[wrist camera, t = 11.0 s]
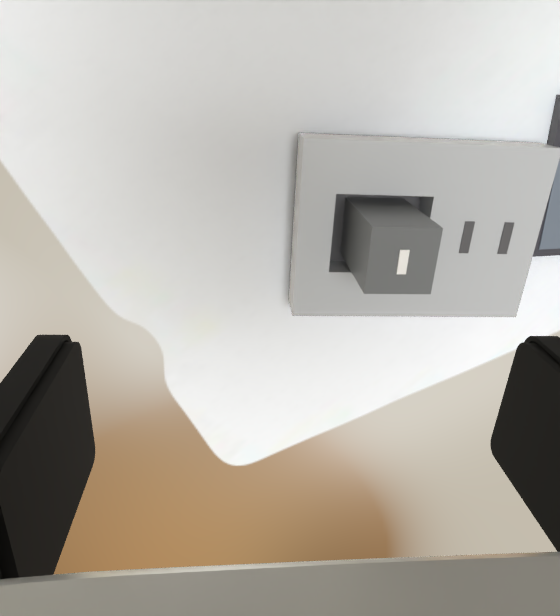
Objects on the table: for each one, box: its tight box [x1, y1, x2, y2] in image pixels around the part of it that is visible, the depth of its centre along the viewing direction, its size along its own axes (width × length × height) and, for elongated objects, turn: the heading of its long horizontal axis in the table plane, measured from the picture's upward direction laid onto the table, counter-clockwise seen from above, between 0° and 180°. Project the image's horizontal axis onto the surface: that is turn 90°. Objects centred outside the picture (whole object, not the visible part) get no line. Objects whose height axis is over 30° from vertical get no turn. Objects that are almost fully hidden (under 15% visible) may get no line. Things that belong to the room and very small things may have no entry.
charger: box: [340, 197, 443, 294], centre depth 35 cm, size 4×4×8 cm
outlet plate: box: [289, 133, 560, 317], centre depth 38 cm, size 13×18×3 cm
